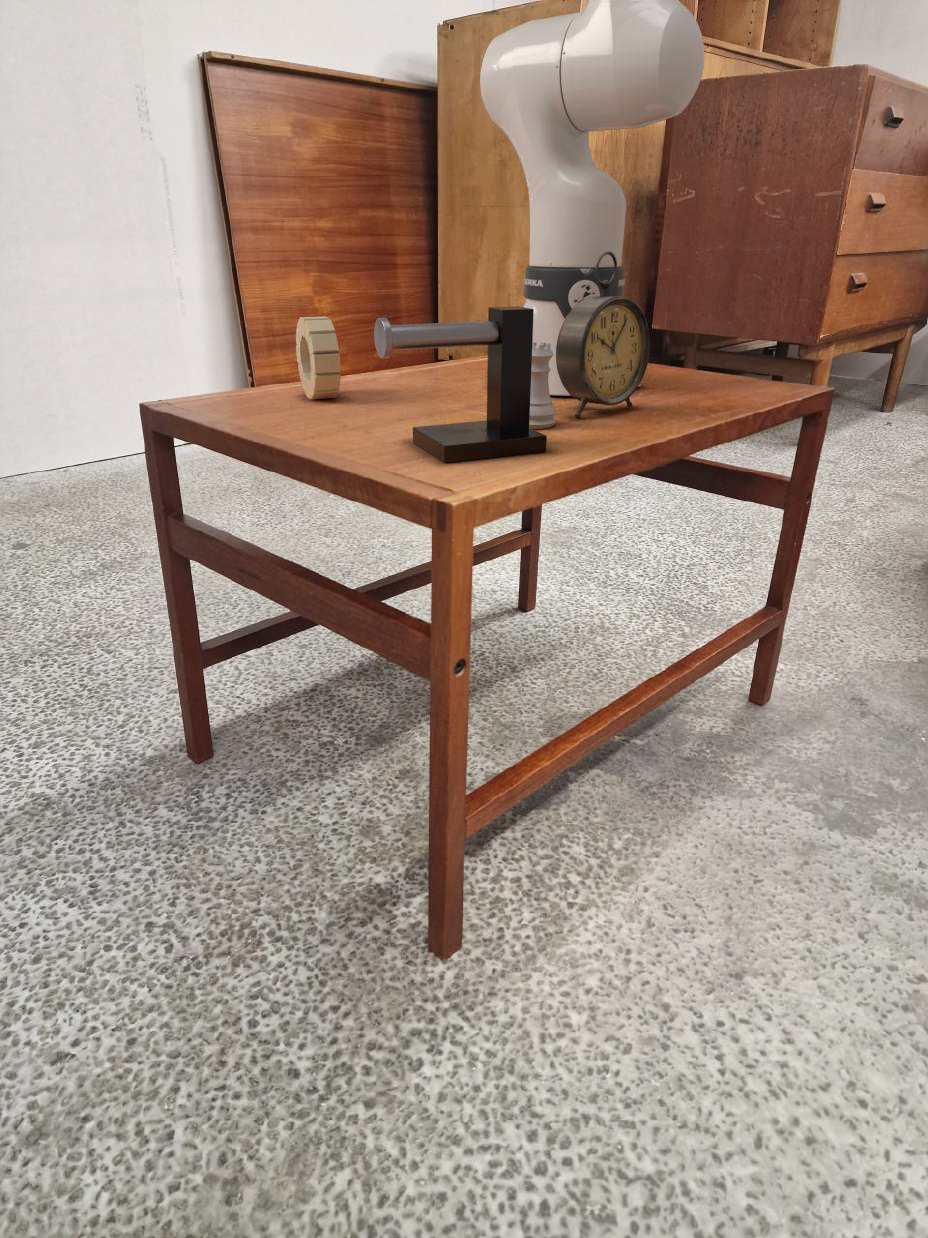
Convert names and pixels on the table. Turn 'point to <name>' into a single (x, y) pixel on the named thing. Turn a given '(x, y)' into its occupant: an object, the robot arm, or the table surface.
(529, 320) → the peg stand
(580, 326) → the alarm clock
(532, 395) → the rook chess piece
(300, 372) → the notched ring
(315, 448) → the table surface
